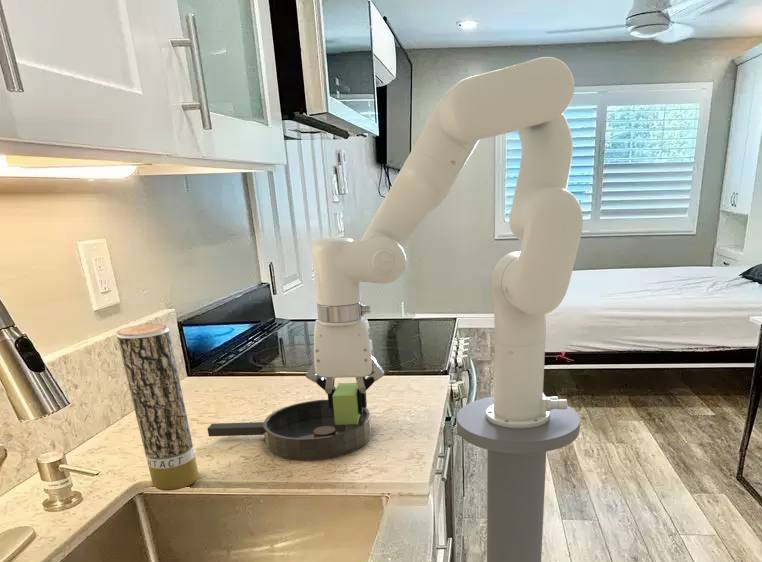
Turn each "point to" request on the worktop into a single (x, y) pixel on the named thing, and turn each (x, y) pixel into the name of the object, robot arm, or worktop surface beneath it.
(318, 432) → the brown disc
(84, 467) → the worktop surface
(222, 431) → the pan handle
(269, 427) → the pan
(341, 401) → the sponge
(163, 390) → the paper tube
